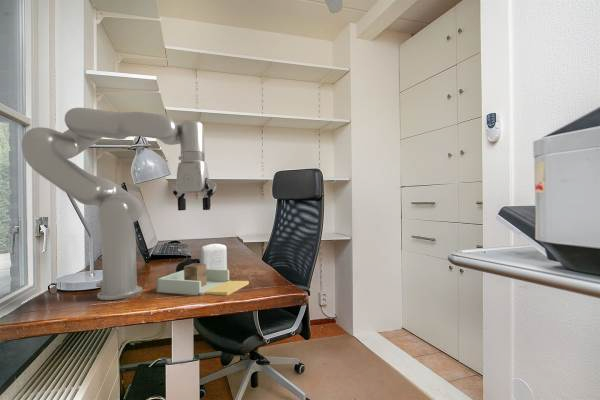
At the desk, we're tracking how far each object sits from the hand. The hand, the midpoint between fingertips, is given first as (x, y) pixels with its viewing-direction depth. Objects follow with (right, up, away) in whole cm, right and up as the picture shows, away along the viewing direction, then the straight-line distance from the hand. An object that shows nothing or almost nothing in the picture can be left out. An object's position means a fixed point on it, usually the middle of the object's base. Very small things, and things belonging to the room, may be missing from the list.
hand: (194, 210), depth 106 cm
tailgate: (+8, -25, -2) cm, 26 cm away
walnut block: (+1, -25, 0) cm, 25 cm away
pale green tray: (0, -26, 0) cm, 26 cm away
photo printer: (+1, -27, +20) cm, 33 cm away
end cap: (-8, -27, +19) cm, 34 cm away
